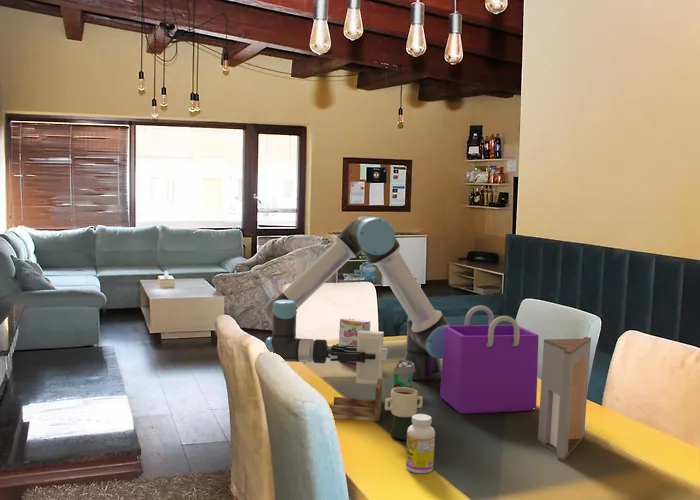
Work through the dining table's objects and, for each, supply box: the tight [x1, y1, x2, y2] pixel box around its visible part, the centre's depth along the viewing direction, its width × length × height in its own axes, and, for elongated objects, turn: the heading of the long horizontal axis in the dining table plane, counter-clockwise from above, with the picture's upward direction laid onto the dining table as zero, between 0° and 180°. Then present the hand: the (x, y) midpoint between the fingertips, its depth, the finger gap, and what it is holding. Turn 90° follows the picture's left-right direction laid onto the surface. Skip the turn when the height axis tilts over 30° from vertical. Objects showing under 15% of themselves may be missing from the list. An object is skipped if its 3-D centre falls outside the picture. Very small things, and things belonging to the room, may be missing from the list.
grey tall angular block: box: [537, 336, 592, 462], centre depth 186 cm, size 21×10×28 cm, turn 148°
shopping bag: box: [439, 305, 539, 415], centre depth 218 cm, size 28×22×30 cm
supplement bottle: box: [405, 413, 436, 475], centre depth 167 cm, size 7×7×13 cm
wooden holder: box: [329, 378, 383, 422], centre depth 205 cm, size 14×9×10 cm, turn 83°
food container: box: [393, 358, 415, 388], centre depth 227 cm, size 12×6×10 cm, turn 168°
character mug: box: [384, 387, 424, 441], centre depth 187 cm, size 11×7×13 cm, turn 108°
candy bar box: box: [338, 317, 371, 365], centre depth 265 cm, size 11×5×16 cm, turn 58°
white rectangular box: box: [355, 330, 385, 385], centre depth 221 cm, size 8×4×16 cm, turn 83°
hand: (386, 354), depth 220 cm, fingers closed on white rectangular box, 4 cm apart
